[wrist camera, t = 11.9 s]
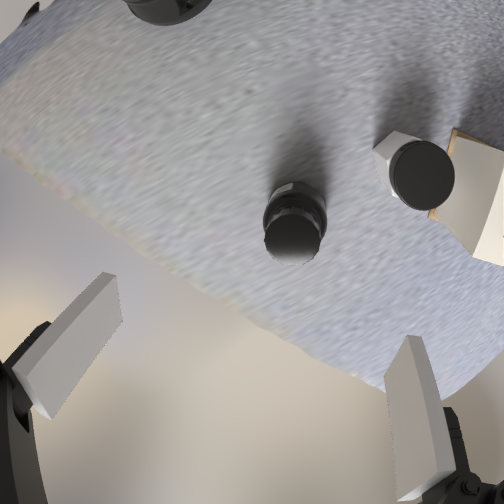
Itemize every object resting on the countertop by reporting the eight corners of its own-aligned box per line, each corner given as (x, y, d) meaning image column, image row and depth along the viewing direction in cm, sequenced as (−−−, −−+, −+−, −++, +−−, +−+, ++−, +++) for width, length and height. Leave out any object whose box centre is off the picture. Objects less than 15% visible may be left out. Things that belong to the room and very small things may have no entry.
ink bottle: (276, 171, 46) (265, 193, 36) (333, 187, 46) (340, 214, 35) (262, 229, 51) (248, 265, 40) (315, 244, 50) (315, 283, 40)
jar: (432, 145, 39) (467, 159, 29) (415, 193, 43) (443, 221, 33) (380, 123, 40) (403, 130, 29) (364, 174, 44) (380, 196, 33)
